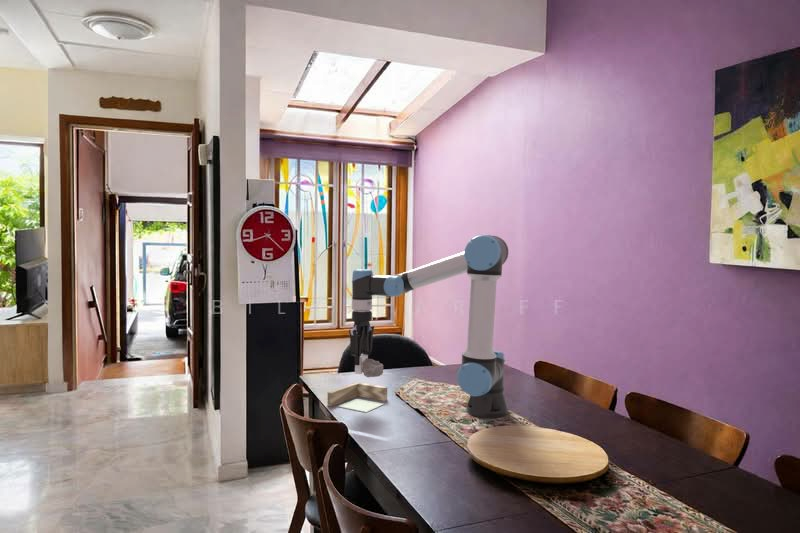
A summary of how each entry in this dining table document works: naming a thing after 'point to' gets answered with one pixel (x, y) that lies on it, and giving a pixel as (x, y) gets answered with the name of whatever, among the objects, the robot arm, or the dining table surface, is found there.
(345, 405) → the pad
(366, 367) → the stone
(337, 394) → the arena
